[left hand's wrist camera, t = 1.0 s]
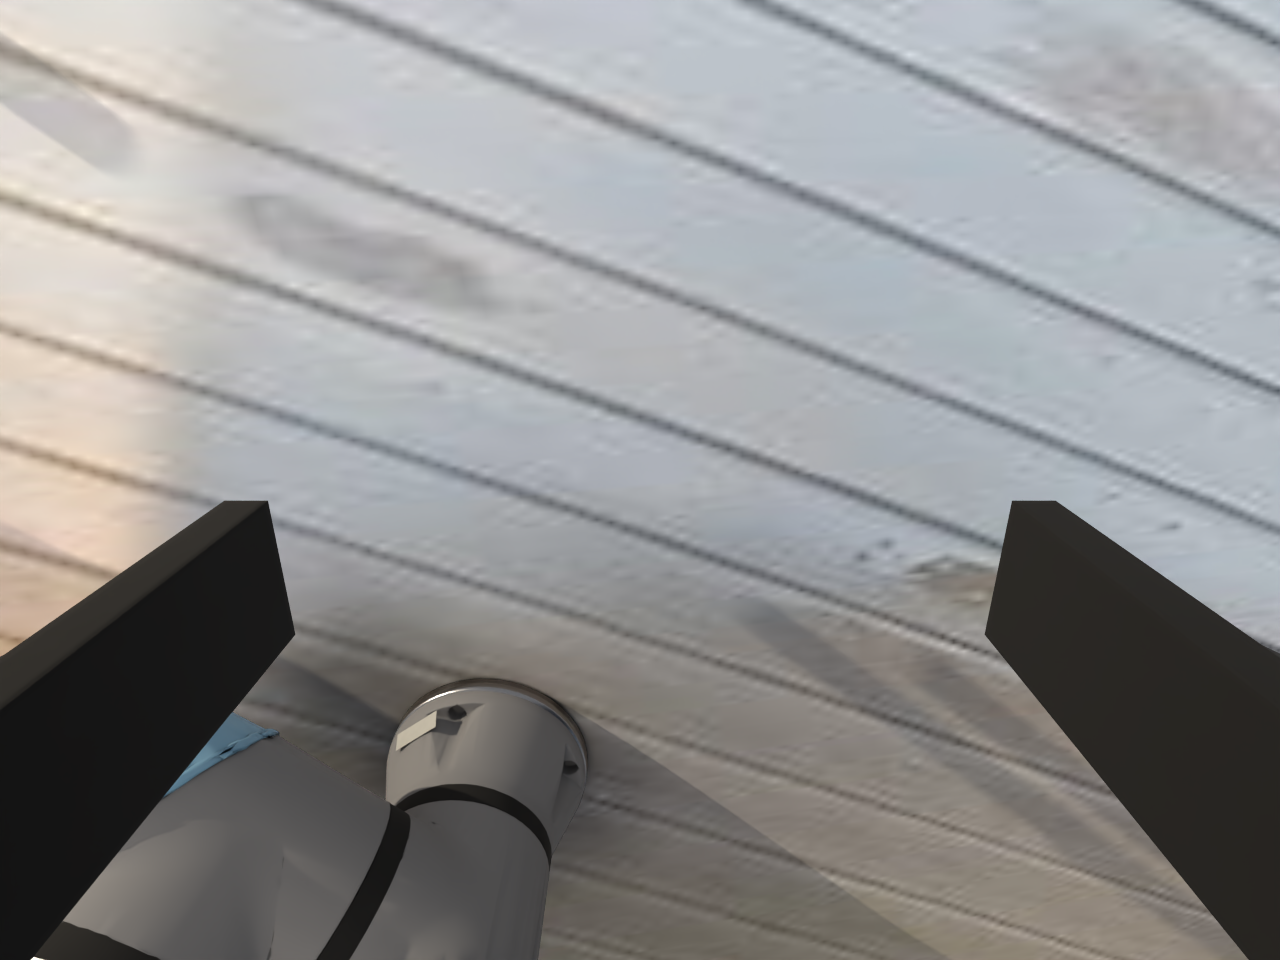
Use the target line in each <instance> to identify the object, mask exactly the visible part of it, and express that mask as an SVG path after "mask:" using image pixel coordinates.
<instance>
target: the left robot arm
mask: <svg viewBox="0 0 1280 960" xmlns="http://www.w3.org/2000/svg"><path fill="white" fill-rule="evenodd" d="M294 635H295V631H294V626H293V621H292V616H291V611H290V606H289V602H288V597H287V592H286V587H285V582H284V577H283V572H282V567H281V563H280V558H279V553H278V548H277V543H276V538H275V533H274V528H273V524H272V519H271V514H270V509H269V504H268V501H223V502H222V503H221V504H219V505H218V506H216V507H215V508H213V509H212V510H211V511H209V512H208V513H206V514H205V515H203V516H202V517H201V518H199V519H198V520H196V521H195V522H193V523H192V524H191V525H189V526H188V527H186V528H185V529H183V530H182V531H181V532H179V533H178V534H176V535H175V536H173V537H172V538H171V539H169V540H168V541H166V542H165V543H163V544H162V545H161V546H159V547H158V548H156V549H155V550H153V551H152V552H151V553H149V554H148V555H146V556H145V557H143V558H142V559H141V560H139V561H138V562H136V563H135V564H133V565H132V566H131V567H129V568H128V569H126V570H125V571H123V572H122V573H121V574H119V575H118V576H116V577H115V578H113V579H112V580H111V581H109V582H108V583H106V584H105V585H103V586H102V587H101V588H99V589H98V590H96V591H95V592H93V593H92V594H91V595H89V596H88V597H86V598H85V599H83V600H82V601H81V602H79V603H78V604H76V605H75V606H73V607H72V608H71V609H69V610H68V611H66V612H65V613H63V614H62V615H61V616H59V617H58V618H56V619H55V620H53V621H52V622H51V623H49V624H48V625H46V626H45V627H43V628H42V629H41V630H39V631H38V632H36V633H35V634H33V635H32V636H31V637H29V638H28V639H26V640H25V641H23V642H22V643H21V644H19V645H18V646H16V647H15V648H13V649H12V650H11V651H9V652H8V653H6V654H5V655H3V656H1V657H0V960H538V955H539V948H540V940H541V932H542V925H543V917H544V910H545V902H546V894H547V887H548V879H549V871H550V864H551V857H552V854H553V853H554V851H555V849H556V847H557V845H558V843H559V842H560V840H561V838H562V836H563V834H564V832H565V831H566V829H567V827H568V825H569V823H570V821H571V820H572V818H573V816H574V814H575V812H576V810H577V808H578V806H579V804H580V801H581V798H582V795H583V792H584V788H585V784H586V776H587V766H588V756H587V749H586V745H585V742H584V739H583V736H582V734H581V732H580V730H579V728H578V727H577V725H576V724H575V722H574V721H573V719H572V718H571V717H570V716H569V715H568V713H567V712H566V711H565V710H564V709H563V708H562V707H560V706H559V705H558V704H557V703H555V702H554V701H553V700H551V699H550V698H548V697H547V696H545V695H543V694H541V693H540V692H538V691H536V690H533V689H531V688H529V687H526V686H523V685H520V684H517V683H513V682H509V681H503V680H496V679H470V680H463V681H458V682H454V683H450V684H447V685H444V686H442V687H439V688H437V689H435V690H433V691H431V692H429V693H428V694H426V695H425V696H423V697H422V698H420V699H419V700H418V701H417V702H416V703H415V704H413V706H412V707H411V708H410V709H409V710H408V711H407V713H406V714H405V715H404V717H403V719H402V720H401V722H400V724H399V726H398V728H397V730H396V733H395V735H394V737H393V740H392V742H391V746H390V750H389V754H388V759H387V770H386V800H385V799H383V798H381V797H380V796H378V795H376V794H374V793H373V792H371V791H369V790H368V789H366V788H364V787H362V786H361V785H359V784H357V783H356V782H354V781H352V780H351V779H349V778H347V777H346V776H344V775H342V774H341V773H339V772H337V771H336V770H334V769H333V768H331V767H329V766H328V765H326V764H324V763H323V762H321V761H319V760H318V759H316V758H314V757H313V756H311V755H310V754H308V753H306V752H305V751H303V750H301V749H300V748H298V747H296V746H295V745H293V744H292V743H290V742H288V741H287V740H285V739H283V738H282V737H280V736H279V732H278V731H276V730H274V729H264V728H262V727H260V726H258V725H256V724H254V723H252V722H250V721H248V720H246V719H245V718H243V717H241V716H239V715H237V714H235V713H233V711H234V709H235V708H236V707H237V706H238V704H239V703H240V702H241V701H242V699H243V698H244V697H245V696H246V695H247V693H248V692H249V691H250V690H251V688H252V687H253V686H254V685H255V683H256V682H257V681H258V680H259V679H260V677H261V676H262V675H263V674H264V672H265V671H266V670H267V669H268V667H269V666H270V665H271V664H272V663H273V661H274V660H275V659H276V658H277V656H278V655H279V654H280V653H281V651H282V650H283V649H284V648H285V647H286V645H287V644H288V643H289V642H290V640H291V639H292V638H293V637H294ZM985 635H986V637H987V638H988V639H989V640H990V642H991V643H992V644H993V645H994V647H995V648H996V649H997V650H998V651H999V653H1000V654H1001V655H1002V656H1003V658H1004V659H1005V660H1006V661H1007V663H1008V664H1009V665H1010V666H1011V667H1012V669H1013V670H1014V671H1015V672H1016V674H1017V675H1018V676H1019V677H1020V679H1021V680H1022V681H1023V682H1024V683H1025V685H1026V686H1027V687H1028V688H1029V690H1030V691H1031V692H1032V693H1033V695H1034V696H1035V697H1036V698H1037V699H1038V701H1039V702H1040V703H1041V704H1042V706H1043V707H1044V708H1045V709H1046V711H1047V712H1048V713H1049V714H1050V715H1051V717H1052V718H1053V719H1054V720H1055V722H1056V723H1057V724H1058V725H1059V727H1060V728H1061V729H1062V730H1063V731H1064V733H1065V734H1066V735H1067V736H1068V738H1069V739H1070V740H1071V741H1072V743H1073V744H1074V745H1075V746H1076V747H1077V749H1078V750H1079V751H1080V752H1081V754H1082V755H1083V756H1084V757H1085V759H1086V760H1087V761H1088V762H1089V764H1090V765H1091V766H1092V767H1093V768H1094V770H1095V771H1096V772H1097V773H1098V775H1099V776H1100V777H1101V778H1102V780H1103V781H1104V782H1105V783H1106V784H1107V786H1108V787H1109V788H1110V789H1111V791H1112V792H1113V793H1114V794H1115V796H1116V797H1117V798H1118V799H1119V800H1120V802H1121V803H1122V804H1123V805H1124V807H1125V808H1126V809H1127V810H1128V812H1129V813H1130V814H1131V815H1132V816H1133V818H1134V819H1135V820H1136V821H1137V823H1138V824H1139V825H1140V826H1141V828H1142V829H1143V830H1144V831H1145V832H1146V834H1147V835H1148V836H1149V837H1150V839H1151V840H1152V841H1153V842H1154V844H1155V845H1156V846H1157V847H1158V848H1159V850H1160V851H1161V852H1162V853H1163V855H1164V856H1165V857H1166V858H1167V860H1168V861H1169V862H1170V863H1171V864H1172V866H1173V867H1174V868H1175V869H1176V871H1177V872H1178V873H1179V874H1180V876H1181V877H1182V878H1183V879H1184V881H1185V882H1186V883H1187V884H1188V885H1189V887H1190V888H1191V889H1192V890H1193V892H1194V893H1195V894H1196V895H1197V897H1198V898H1199V899H1200V900H1201V901H1202V903H1203V904H1204V905H1205V906H1206V908H1207V909H1208V910H1209V911H1210V913H1211V914H1212V915H1213V916H1214V917H1215V919H1216V920H1217V921H1218V922H1219V924H1220V925H1221V926H1222V927H1223V929H1224V930H1225V931H1226V932H1227V933H1228V935H1229V936H1230V937H1231V938H1232V940H1233V941H1234V942H1235V943H1236V945H1237V946H1238V947H1239V948H1240V949H1241V951H1242V952H1243V953H1244V954H1245V956H1246V957H1247V958H1248V959H1249V960H1280V653H1277V652H1275V651H1273V650H1271V649H1269V648H1267V647H1265V646H1263V645H1261V644H1259V643H1258V642H1257V641H1255V640H1254V639H1252V638H1251V637H1249V636H1248V635H1247V634H1245V633H1244V632H1242V631H1241V630H1239V629H1238V628H1237V627H1235V626H1234V625H1232V624H1231V623H1229V622H1228V621H1227V620H1225V619H1224V618H1222V617H1221V616H1219V615H1218V614H1217V613H1215V612H1214V611H1212V610H1211V609H1209V608H1208V607H1207V606H1205V605H1204V604H1202V603H1201V602H1199V601H1198V600H1197V599H1195V598H1194V597H1192V596H1191V595H1189V594H1188V593H1187V592H1185V591H1184V590H1182V589H1181V588H1179V587H1178V586H1177V585H1175V584H1174V583H1172V582H1171V581H1169V580H1168V579H1167V578H1165V577H1164V576H1162V575H1161V574H1159V573H1158V572H1157V571H1155V570H1154V569H1152V568H1151V567H1149V566H1148V565H1147V564H1145V563H1144V562H1142V561H1141V560H1139V559H1138V558H1137V557H1135V556H1134V555H1132V554H1131V553H1129V552H1128V551H1127V550H1125V549H1124V548H1122V547H1121V546H1119V545H1118V544H1117V543H1115V542H1114V541H1112V540H1111V539H1109V538H1108V537H1107V536H1105V535H1104V534H1102V533H1101V532H1099V531H1098V530H1097V529H1095V528H1094V527H1092V526H1091V525H1089V524H1088V523H1087V522H1085V521H1084V520H1082V519H1081V518H1079V517H1078V516H1077V515H1075V514H1074V513H1072V512H1071V511H1069V510H1068V509H1067V508H1065V507H1064V506H1062V505H1061V504H1059V503H1058V502H1057V501H1012V504H1011V509H1010V514H1009V519H1008V524H1007V528H1006V533H1005V538H1004V543H1003V548H1002V553H1001V558H1000V563H999V567H998V572H997V577H996V582H995V587H994V592H993V597H992V602H991V606H990V611H989V616H988V621H987V626H986V631H985Z"/></svg>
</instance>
